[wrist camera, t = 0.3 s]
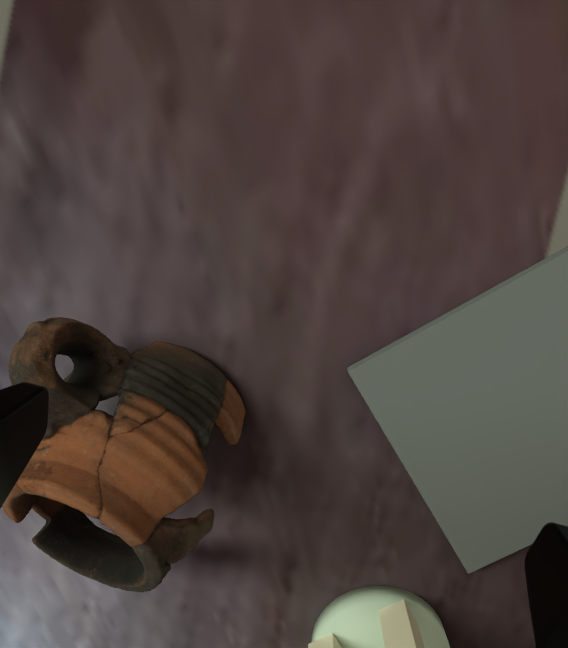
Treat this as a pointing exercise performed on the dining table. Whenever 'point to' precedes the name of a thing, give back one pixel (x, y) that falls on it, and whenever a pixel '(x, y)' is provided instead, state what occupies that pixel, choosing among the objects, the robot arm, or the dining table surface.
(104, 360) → the brown curved piece
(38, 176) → the dining table surface
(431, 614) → the stool
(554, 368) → the mat
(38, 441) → the robot arm
